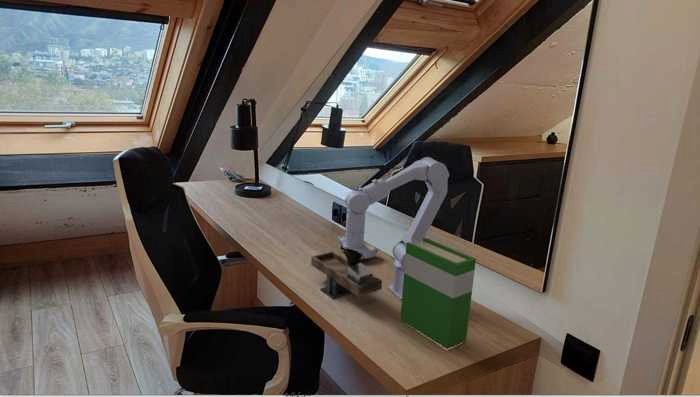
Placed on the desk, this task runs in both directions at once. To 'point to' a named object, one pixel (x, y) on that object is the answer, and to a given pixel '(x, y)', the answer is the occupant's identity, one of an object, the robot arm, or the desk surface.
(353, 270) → the block
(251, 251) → the desk surface
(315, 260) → the wooden rimmed tray
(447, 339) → the hardback book
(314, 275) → the desk surface
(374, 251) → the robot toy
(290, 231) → the desk surface
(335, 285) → the pivot stand
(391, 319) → the desk surface
